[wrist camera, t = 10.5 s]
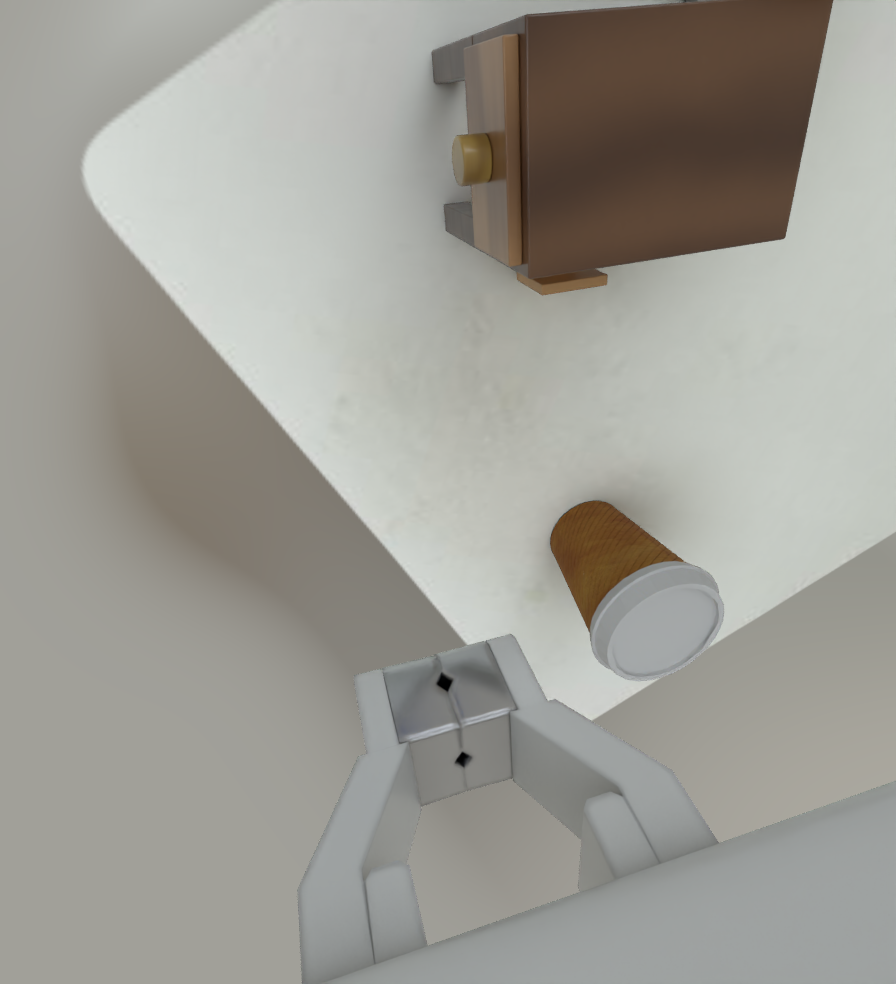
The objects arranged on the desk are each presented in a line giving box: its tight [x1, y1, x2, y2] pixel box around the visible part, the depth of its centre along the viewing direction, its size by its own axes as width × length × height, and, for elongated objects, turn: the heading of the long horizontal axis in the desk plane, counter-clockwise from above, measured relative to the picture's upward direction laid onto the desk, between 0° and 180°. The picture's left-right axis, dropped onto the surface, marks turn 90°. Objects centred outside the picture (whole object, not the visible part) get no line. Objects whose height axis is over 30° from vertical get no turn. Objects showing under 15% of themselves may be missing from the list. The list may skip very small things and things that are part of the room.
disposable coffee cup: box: [550, 501, 724, 681], centre depth 45 cm, size 10×10×12 cm
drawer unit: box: [432, 0, 833, 279], centre depth 29 cm, size 8×14×13 cm, turn 95°
